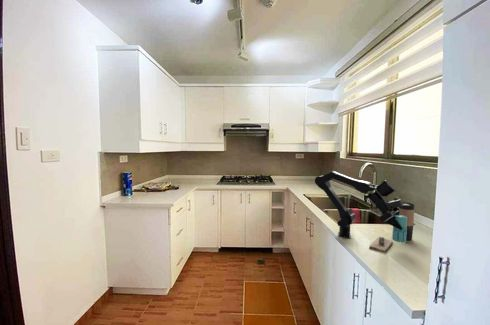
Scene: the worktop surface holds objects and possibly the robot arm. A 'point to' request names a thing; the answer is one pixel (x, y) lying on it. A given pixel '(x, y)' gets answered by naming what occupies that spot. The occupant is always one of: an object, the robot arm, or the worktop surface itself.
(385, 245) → the brown block with knob
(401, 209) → the travel mug
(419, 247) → the worktop surface
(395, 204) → the robot arm
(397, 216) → the teal cap
